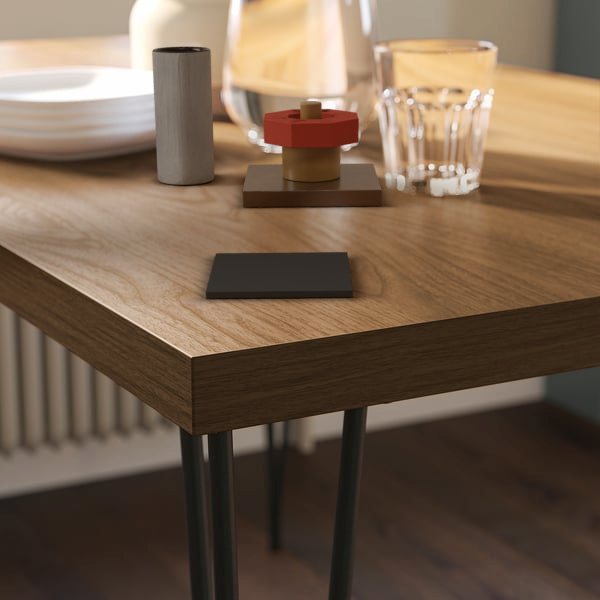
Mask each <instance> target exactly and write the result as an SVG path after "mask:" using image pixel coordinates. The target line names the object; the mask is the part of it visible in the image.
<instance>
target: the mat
mask: <svg viewBox="0 0 600 600" xmlns="http://www.w3.org/2000/svg"><path fill="white" fill-rule="evenodd" d="M207 281H208V282H207V286H206V290H205V299H289V298H291V299H293V298H294V299H295V298H302V299H303V298H309V299H310V298H353V297H354V289H353V282H352V275H351V268H350V259H349V254H348V251H317V252H316V251H313V252H312V251H309V252H308V251H305V252H304V251H301V252H298V251H297V252H293V251H292V252H216V253H215V255H214V258H213V263H212V267H211V271H210V274H209V278H208V280H207Z"/></svg>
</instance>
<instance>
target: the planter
mask: <svg viewBox="0 0 600 600" xmlns="http://www.w3.org/2000/svg"><path fill="white" fill-rule="evenodd" d="M151 55H152V56H151V57H152V59H151V60H152V78H153V79H152V80H153V82H152V83H153V100H154V105H153V106H154V125H155V126H154V127H155V146H156V147H155V148H156V167H157V168H156V170H157V179H158V182H161V183H163V184H166V185H174V186H189V185H190V186H192V185H200V184H207V183H209V182H212V181H214V179H215V148H214V145H215V142H214V141H215V140H214V115H213V113H214V111H213V110H214V109H213V81H212V80H213V78H212V52H211V49H210V48H209V47H207V46H206V47H205V46H164V47H156V48H154V49H153V50H152V51H151Z"/></svg>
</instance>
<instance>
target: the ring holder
mask: <svg viewBox="0 0 600 600" xmlns="http://www.w3.org/2000/svg"><path fill="white" fill-rule="evenodd" d="M299 109H300V119H322V109H323V104H322V102H321V101H319V100H318V101H317V100H306V101H305V100H304V101H301V102H300V103H299ZM281 161H282V162H281V163H277V164H276V163H275V164H269V163H268V164H265V163H264V164H262V163H261V164H248V165H247V169H246V173H245V178H244V183H243V187H242V207H243V208H291V207H292V208H293V207H295V208H296V207H297V208H299V207H303V208H304V207H305V208H306V207H381V206H382V199H383V198H382V197H383V196H382V193H383V191H382V187H381V184H380V181H379V177H378V174H377V171H376V168H375V164H374V163H371V162H369V163H368V162H367V163H365V162H364V163H341V146H337V147H332V148H289V147H283V146H281Z"/></svg>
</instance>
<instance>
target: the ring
mask: <svg viewBox="0 0 600 600" xmlns="http://www.w3.org/2000/svg"><path fill="white" fill-rule="evenodd" d="M359 131H360V118H359V115H358V112H356V111H348V110H340V109H333V108H322V119H300V108H295V109H294V108H291V109H286V110H285V109H284V110H280V111H279V110H278V111H272V112H265V113H264V116H263V143H264V144H265V145H272V146H277V147H282V146H283V147H289V148H332V147H337V146H340V147H343V146H347V145H352V144H358V143H359V142H360V141H359V139H360V138H359V136H360V134H359Z"/></svg>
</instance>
